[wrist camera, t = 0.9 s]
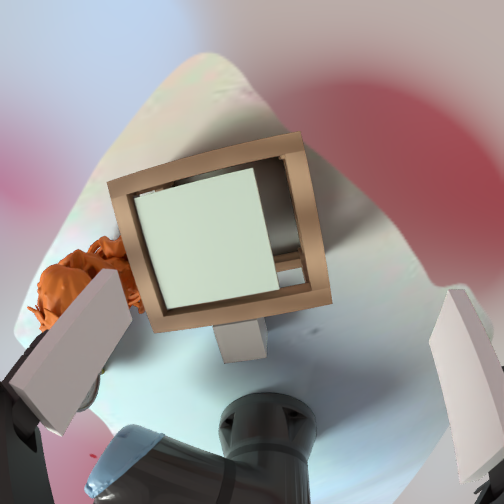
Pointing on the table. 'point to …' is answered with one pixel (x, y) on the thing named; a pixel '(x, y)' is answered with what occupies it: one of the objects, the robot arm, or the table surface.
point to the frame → (306, 257)
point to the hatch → (208, 240)
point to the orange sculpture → (82, 279)
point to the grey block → (242, 340)
